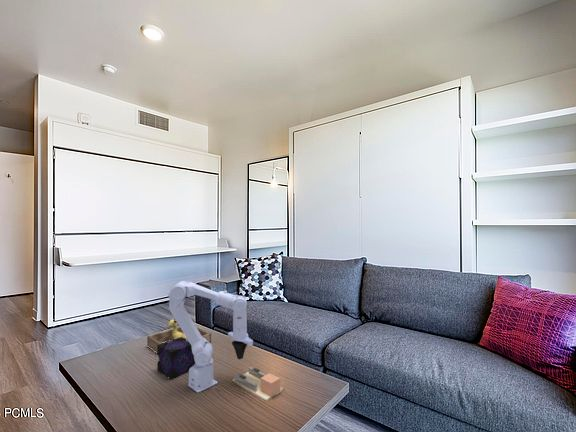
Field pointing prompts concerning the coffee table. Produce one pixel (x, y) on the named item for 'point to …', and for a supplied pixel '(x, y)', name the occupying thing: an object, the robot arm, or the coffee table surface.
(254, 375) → the chute
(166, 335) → the display tray
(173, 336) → the stuffed giraffe
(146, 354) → the coffee table surface
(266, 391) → the block
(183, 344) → the energy cube
